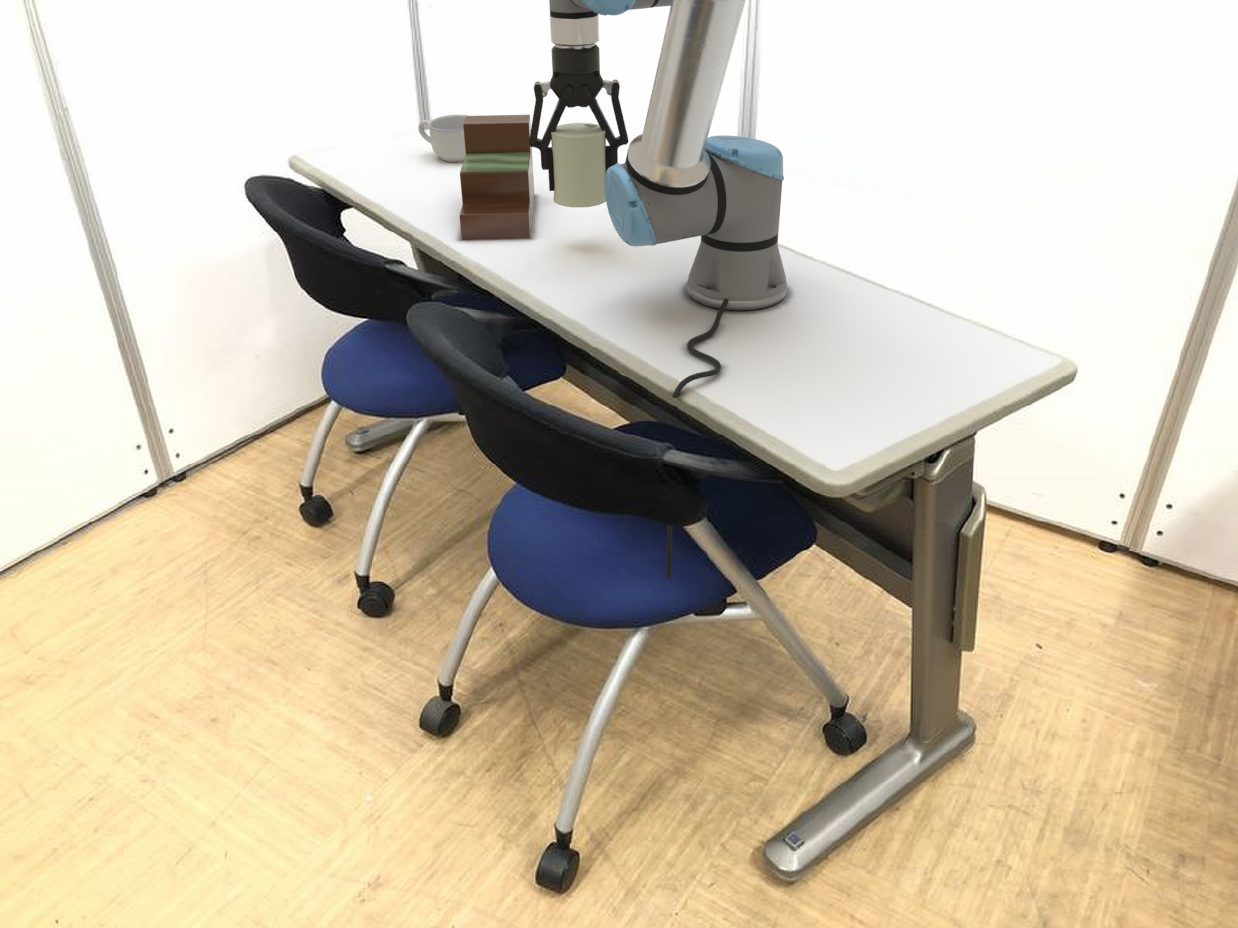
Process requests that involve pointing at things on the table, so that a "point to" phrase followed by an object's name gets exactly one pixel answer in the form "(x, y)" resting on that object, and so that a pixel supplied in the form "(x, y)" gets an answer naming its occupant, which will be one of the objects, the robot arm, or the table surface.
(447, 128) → the teacup
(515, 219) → the shelf riser
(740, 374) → the table surface
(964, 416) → the table surface
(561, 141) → the can
